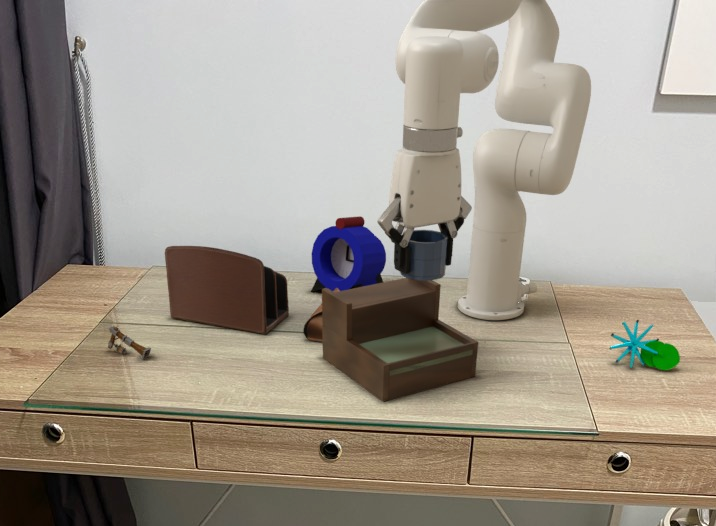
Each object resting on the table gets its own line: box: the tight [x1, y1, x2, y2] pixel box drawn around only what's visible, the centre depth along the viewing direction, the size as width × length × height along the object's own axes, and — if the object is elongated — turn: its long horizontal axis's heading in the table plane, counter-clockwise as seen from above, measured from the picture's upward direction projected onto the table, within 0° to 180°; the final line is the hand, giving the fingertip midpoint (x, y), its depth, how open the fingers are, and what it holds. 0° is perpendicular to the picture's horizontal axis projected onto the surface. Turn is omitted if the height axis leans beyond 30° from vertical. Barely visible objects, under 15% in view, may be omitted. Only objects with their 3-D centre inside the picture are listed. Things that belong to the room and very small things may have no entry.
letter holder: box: [164, 245, 290, 336], centre depth 157 cm, size 10×20×14 cm, turn 68°
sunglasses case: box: [302, 288, 340, 343], centre depth 158 cm, size 18×7×7 cm
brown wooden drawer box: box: [321, 277, 479, 402], centre depth 141 cm, size 19×18×12 cm
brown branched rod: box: [107, 325, 152, 361], centre depth 147 cm, size 2×8×4 cm, turn 66°
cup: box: [399, 229, 448, 281], centre depth 129 cm, size 7×7×6 cm
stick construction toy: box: [608, 319, 681, 371], centre depth 146 cm, size 12×7×8 cm
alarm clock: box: [310, 216, 387, 293], centre depth 169 cm, size 12×12×15 cm
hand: (422, 266), depth 130 cm, fingers closed on cup, 6 cm apart
